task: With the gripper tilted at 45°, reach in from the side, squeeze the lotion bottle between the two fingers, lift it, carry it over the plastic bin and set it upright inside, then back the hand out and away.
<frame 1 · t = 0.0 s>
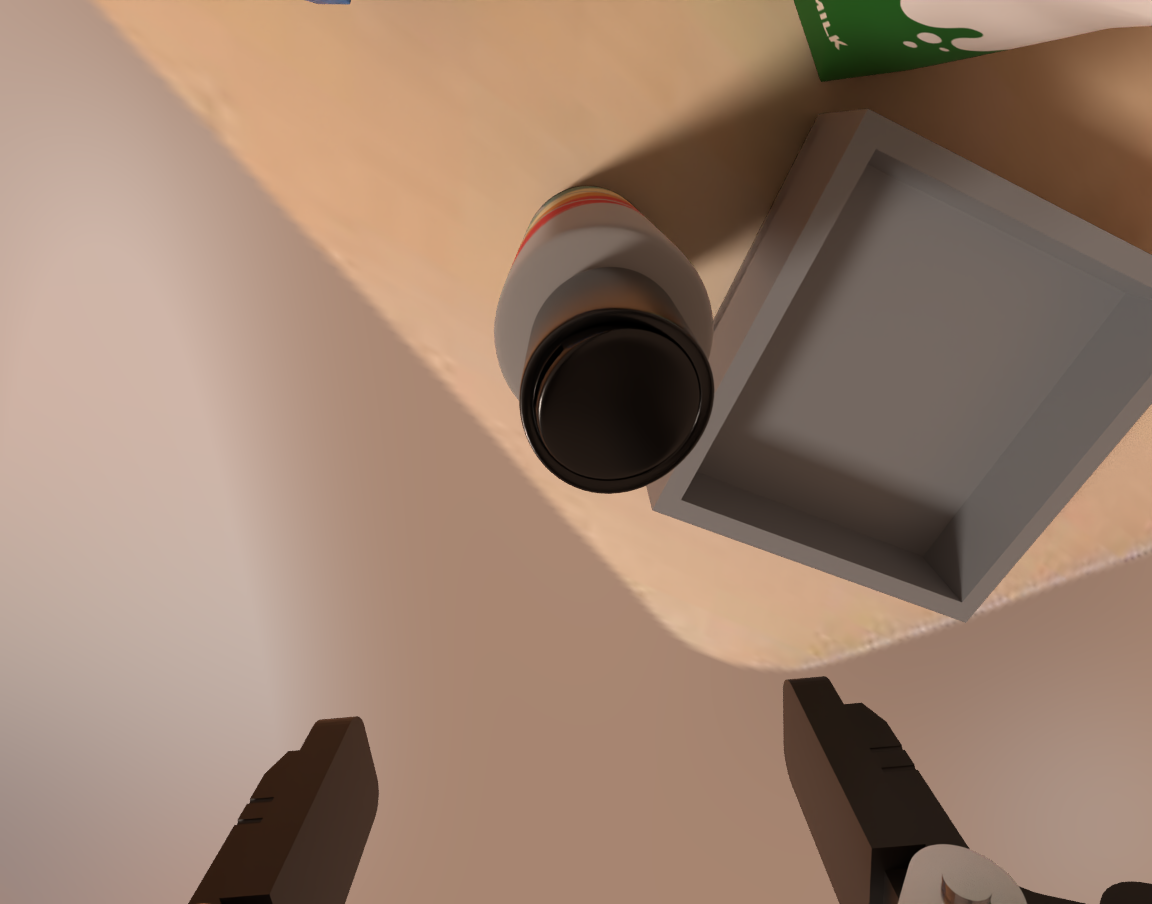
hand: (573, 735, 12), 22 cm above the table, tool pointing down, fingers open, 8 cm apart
bin: (876, 375, 33), on the table
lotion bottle: (586, 249, 30), on the table
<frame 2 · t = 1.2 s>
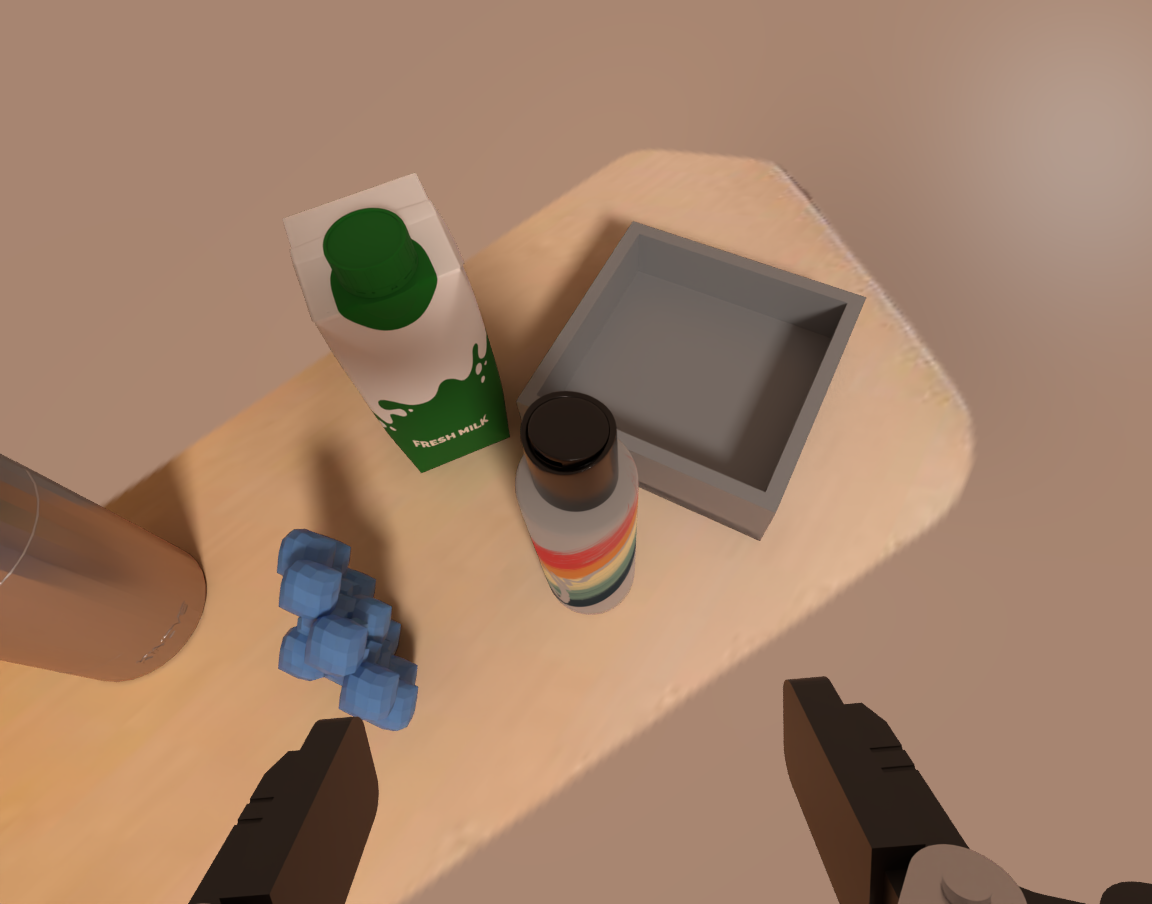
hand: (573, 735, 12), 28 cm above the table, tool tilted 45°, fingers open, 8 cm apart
grapes: (373, 655, 41), on the table
bin: (688, 387, 49), on the table
milk carton: (451, 418, 49), on the table
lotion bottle: (591, 574, 43), on the table
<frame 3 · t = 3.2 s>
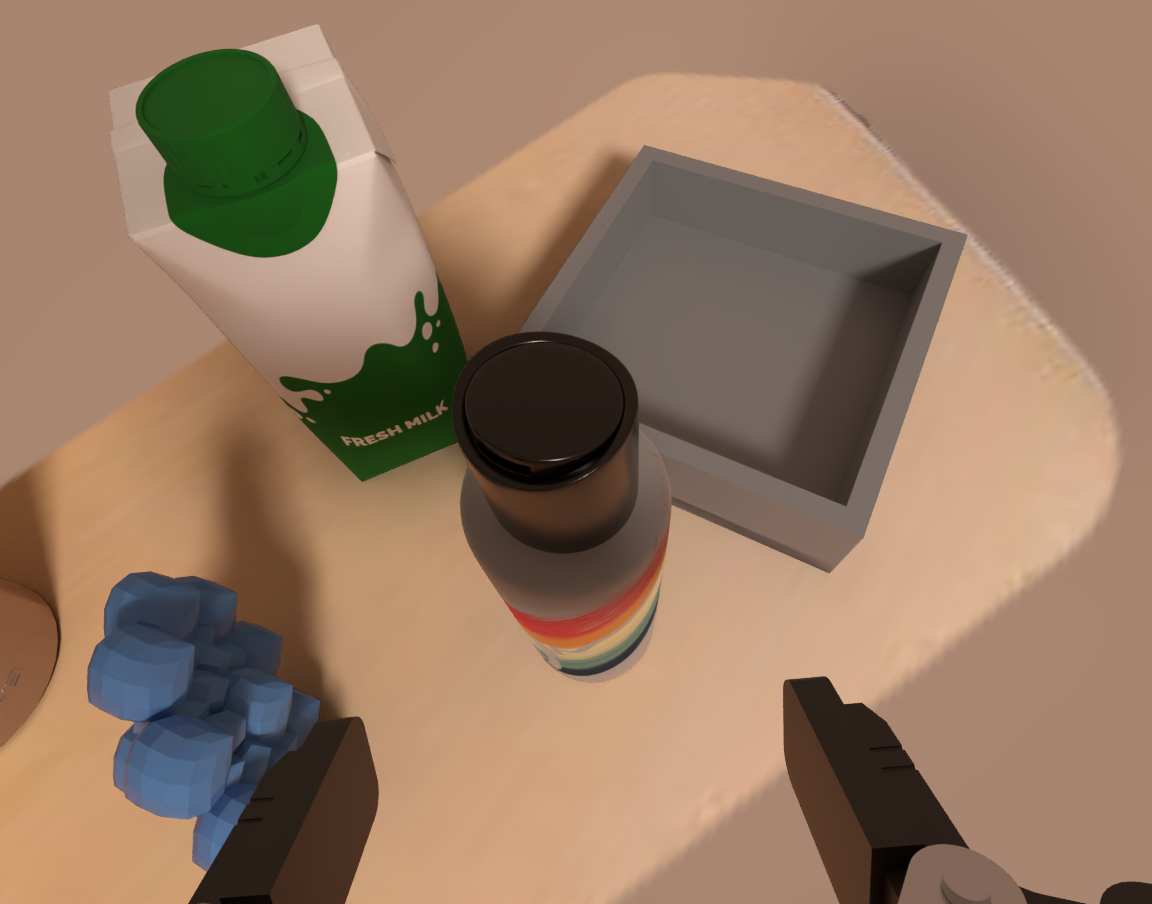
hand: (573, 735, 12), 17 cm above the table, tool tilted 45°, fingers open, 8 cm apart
grapes: (284, 742, 29), on the table
bin: (721, 364, 36), on the table
milk carton: (405, 407, 37), on the table
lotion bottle: (593, 621, 31), on the table
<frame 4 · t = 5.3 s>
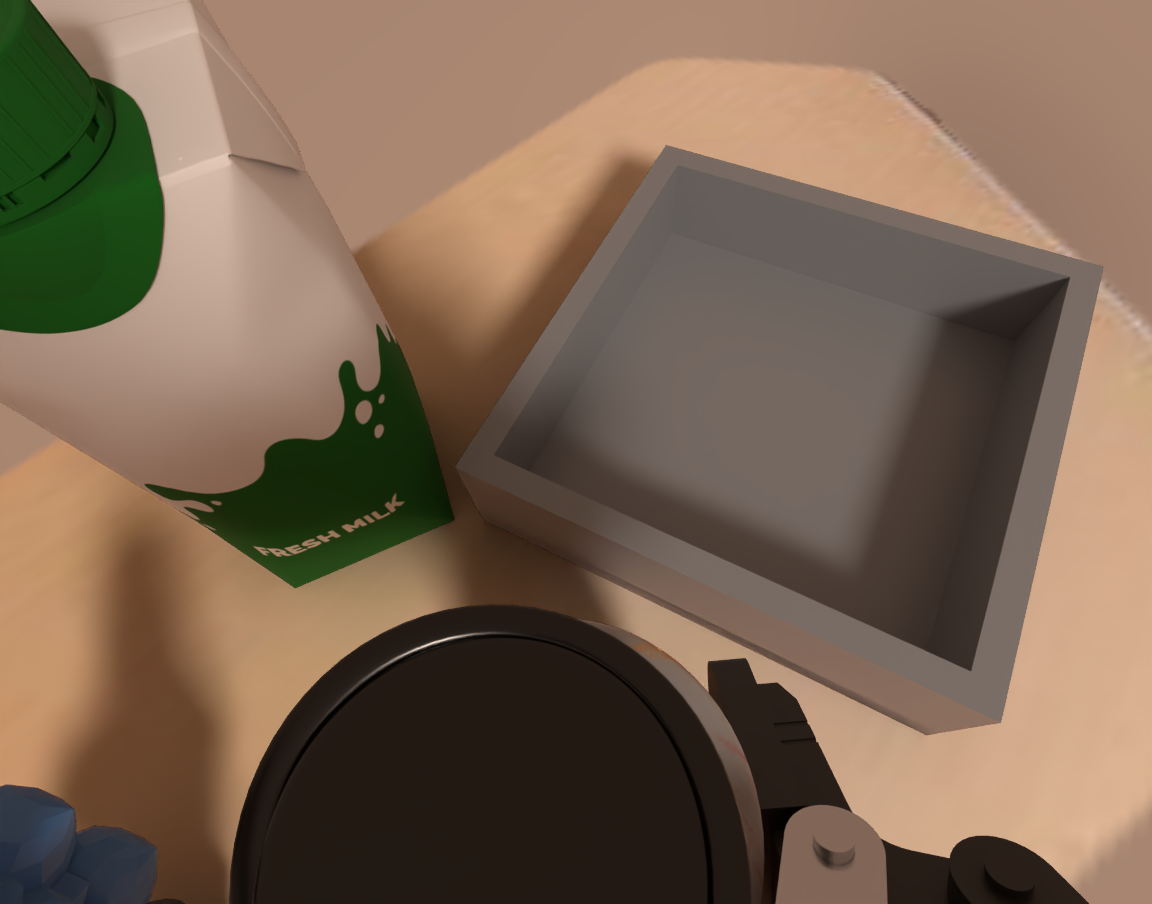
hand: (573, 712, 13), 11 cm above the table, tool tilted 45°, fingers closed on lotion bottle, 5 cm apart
bin: (766, 429, 28), on the table
milk carton: (357, 484, 28), on the table
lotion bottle: (601, 801, 22), on the table, touching gripper
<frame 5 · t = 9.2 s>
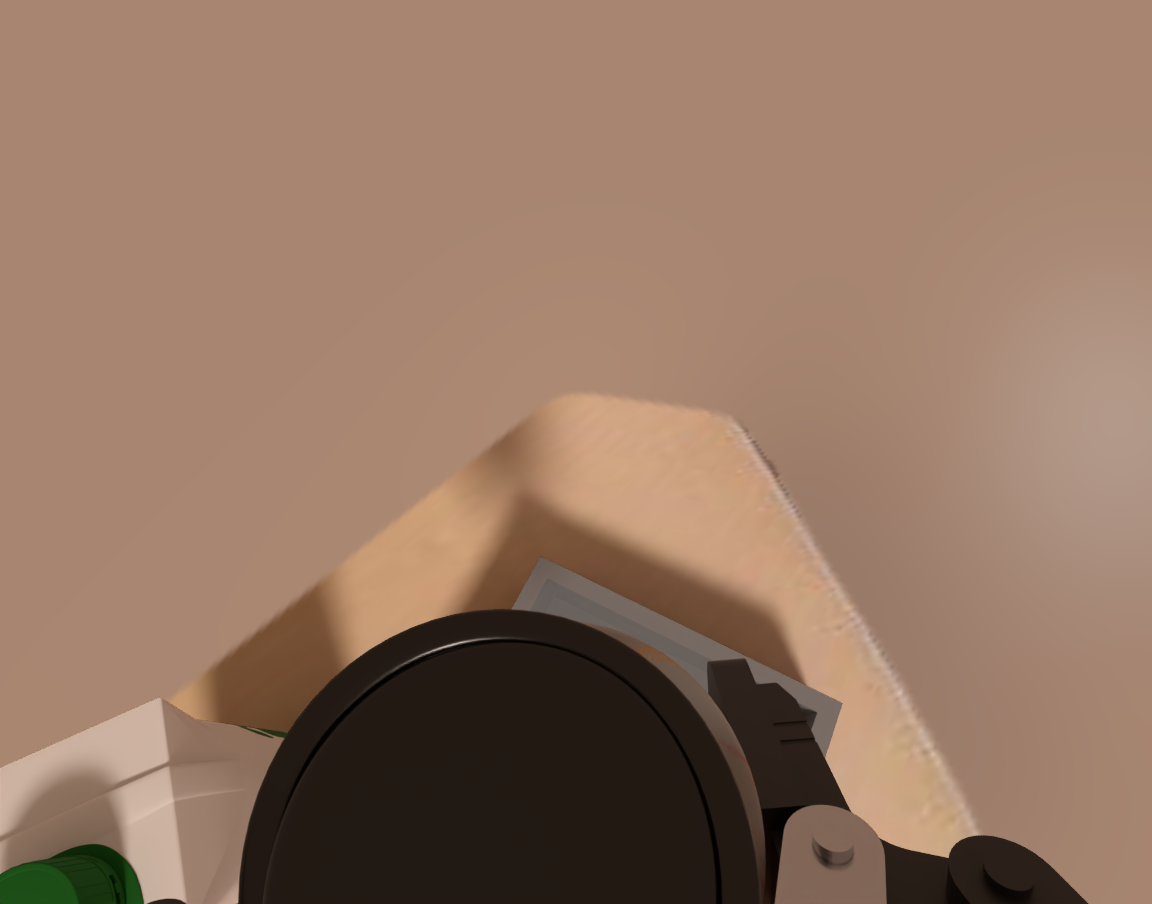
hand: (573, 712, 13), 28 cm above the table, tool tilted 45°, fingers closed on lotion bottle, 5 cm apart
bin: (612, 785, 37), on the table
milk carton: (304, 823, 38), on the table
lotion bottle: (598, 803, 22), point 17 cm above the table, touching gripper
when the fingers open (13 cm above the table, at t = 12.8 s): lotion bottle drops 1 cm, resting on bin.
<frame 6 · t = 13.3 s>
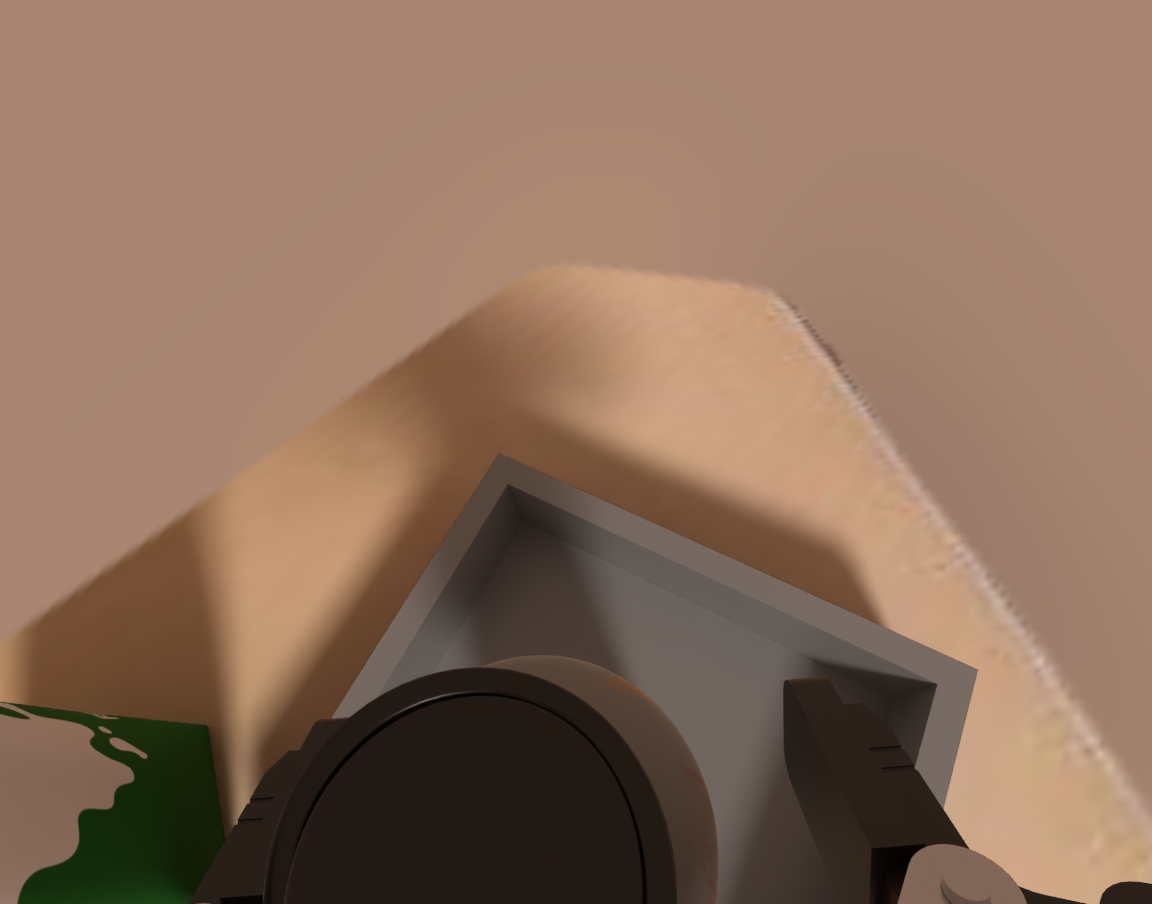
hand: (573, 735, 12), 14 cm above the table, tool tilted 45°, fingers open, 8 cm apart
bin: (605, 800, 24), on the table
milk carton: (136, 854, 25), on the table
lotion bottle: (589, 810, 23), point 1 cm above the table, touching bin
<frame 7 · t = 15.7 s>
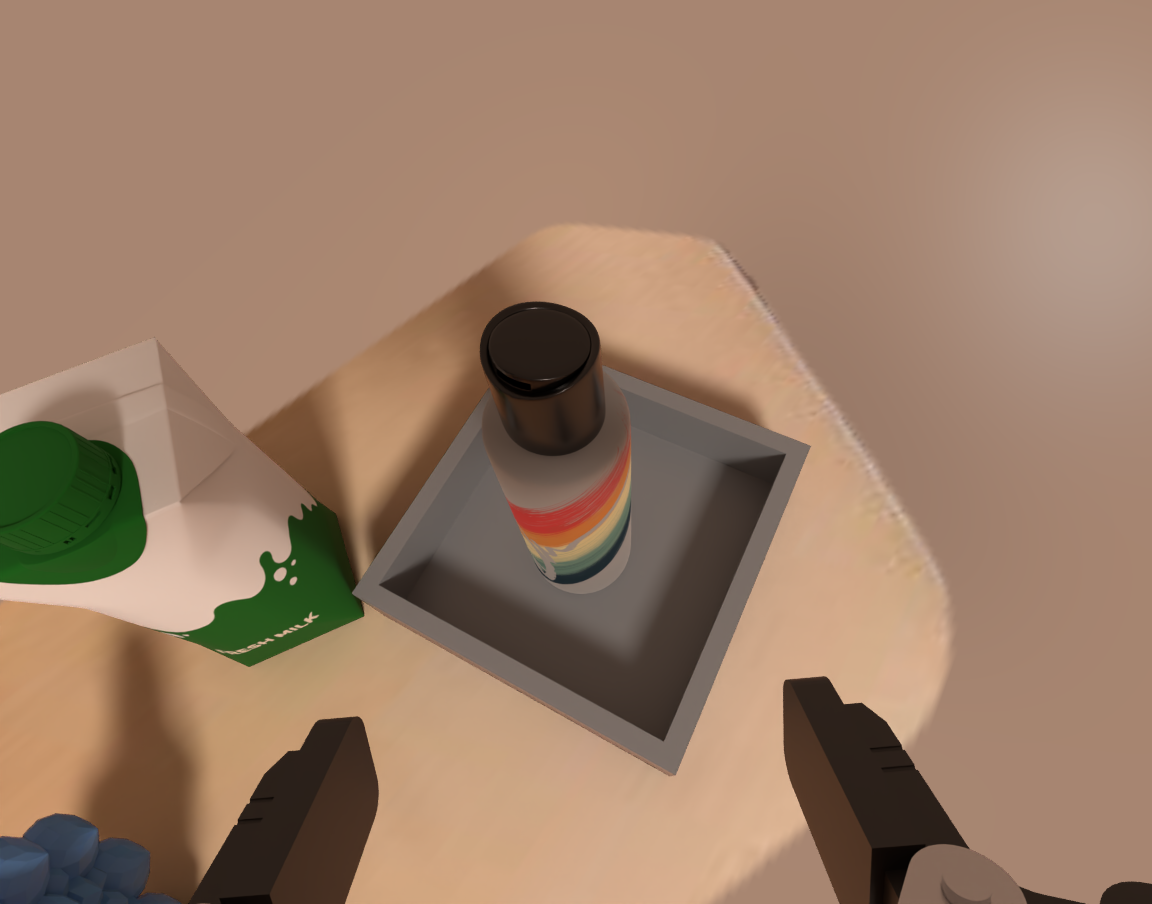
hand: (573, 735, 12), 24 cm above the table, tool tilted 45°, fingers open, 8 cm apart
bin: (592, 548, 39), on the table
milk carton: (296, 586, 39), on the table
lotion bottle: (582, 549, 38), point 1 cm above the table, touching bin
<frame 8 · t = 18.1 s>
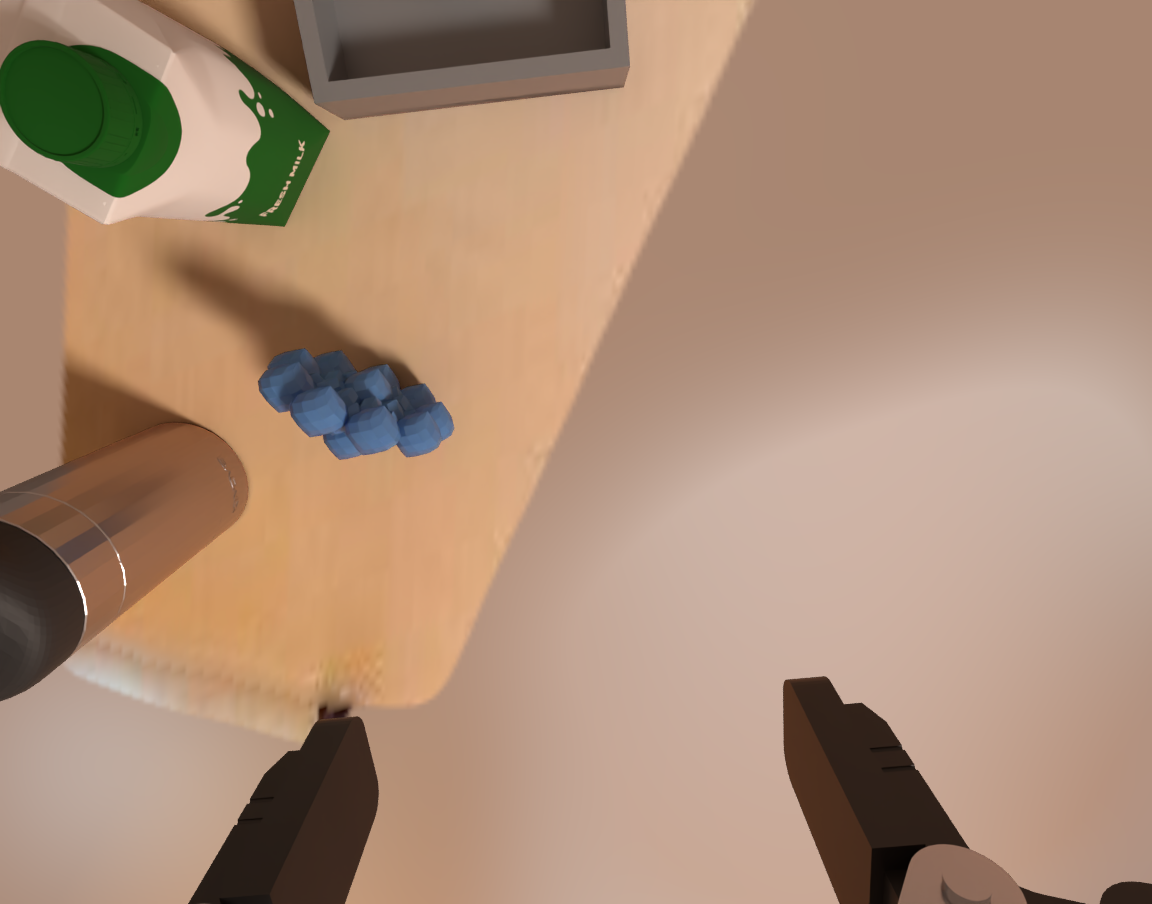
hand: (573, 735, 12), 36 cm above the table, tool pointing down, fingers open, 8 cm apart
grapes: (384, 393, 47), on the table
milk carton: (258, 148, 42), on the table
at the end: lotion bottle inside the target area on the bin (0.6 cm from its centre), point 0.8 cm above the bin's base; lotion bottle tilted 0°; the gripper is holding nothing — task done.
